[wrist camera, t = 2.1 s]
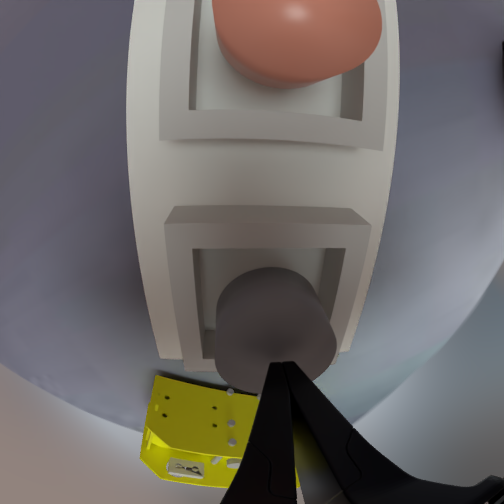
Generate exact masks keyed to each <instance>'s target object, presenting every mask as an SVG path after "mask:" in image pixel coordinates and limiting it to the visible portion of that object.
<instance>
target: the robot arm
mask: <svg viewBox="0 0 504 504" xmlns="http://www.w3.org/2000/svg"><path fill="white" fill-rule="evenodd" d="M295 467H296V471H297V475H298V479H299V482H300V486H301V490H302V494H303V498H304V502H305V504H504V478H501V477H497V476H493V475H490V476H488V477H487V478H485V479H483V480H482V481H480V482H479V483H477V484H476V485H474V486H471V487H460V486H454V485H447V484H441V483H436V482H431V481H426V480H421V479H418V478H415V477H413V476H411V475H409V474H408V473H406V472H404V471H403V470H402V469H401V468H399V467H398V466H397V465H395V464H394V463H393V462H391V461H390V460H389V459H388V458H386V457H385V456H384V455H382V454H381V453H380V452H379V451H378V450H376V449H375V448H374V447H373V446H372V445H370V444H369V443H368V442H367V441H366V440H365V439H364V438H363V437H362V436H361V435H360V434H359V432H358V431H357V430H356V429H355V428H353V426H352V425H351V424H350V423H349V422H348V421H347V420H346V419H345V417H344V416H343V415H342V414H341V413H340V412H339V411H338V410H337V409H336V408H335V406H334V405H333V404H332V403H331V402H330V401H329V400H328V399H327V398H326V397H325V395H324V394H323V393H322V392H321V391H320V390H319V389H318V388H317V386H316V385H315V384H314V383H313V382H312V381H311V380H310V379H309V377H308V376H307V375H306V374H305V373H304V372H303V371H302V369H301V368H300V367H299V366H298V365H297V364H296V362H294V361H283V362H282V363H281V362H270V363H269V367H268V371H267V374H266V378H265V382H264V386H263V389H262V393H261V397H260V400H259V404H258V408H257V411H256V415H255V418H254V422H253V425H252V429H251V432H250V436H249V439H248V443H247V445H246V449H245V452H244V455H243V458H242V460H241V463H240V466H239V468H238V470H237V472H236V474H235V476H234V478H233V480H232V482H231V484H230V486H229V488H228V490H227V492H226V494H225V496H224V497H223V499H222V501H221V503H220V504H297V500H296V499H297V493H296V473H295Z"/></svg>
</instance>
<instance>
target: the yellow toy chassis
mask: <svg viewBox="0 0 504 504" xmlns="http://www.w3.org/2000/svg"><path fill="white" fill-rule="evenodd" d="M260 397H261V394H258V396H250V395H244V394H238V393H234V390H233V389H230V388H229V389H228V390H227V391H222V390H217V389H212V388H207V387H202V386H198V385H193V384H189V383H185V382H181V381H177V380H173V379H169V378H165V377H162V376H158V375H155V380H154V385H153V390H152V395H151V401H150V402H149V404H148V410H147V415H146V421H145V427H144V433H143V439H142V445H141V452H140V459H141V461H142V462H143V463H145V464H146V466H147V467H148V468H149V469H150V470H152V471H153V472H154V473H155V474H156V475H157V476H158V477H159V478H160V479H163V480H168V481H174V482H181V483H187V484H193V485H202V486H210V487H221V488H229V486H230V484H231V482H232V480H233V478H234V476H235V474H236V472H237V470H238V468H239V466H240V463H241V460H242V458H243V455H244V452H245V449H246V445H247V443H248V439H249V436H250V432H251V429H252V425H253V422H254V418H255V415H256V411H257V408H258V404H259V400H260ZM212 407H216V408H212ZM168 462H169V467H168V471H167V469H166V465H167V463H168ZM179 465H180V466H179ZM176 466H178V467H176ZM184 467H187V468H186V470H185V468H184ZM295 473H296V488H298V487H300V482H299V479H298V475H297V471H296V467H295ZM170 474H173V475H178V476H184V477H180V478H179V477H174V476H172V475H170Z"/></svg>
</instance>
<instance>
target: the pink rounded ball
mask: <svg viewBox="0 0 504 504" xmlns="http://www.w3.org/2000/svg"><path fill="white" fill-rule="evenodd" d="M212 9H213V16H214V22H215V29H216V36H217V41H218V45H219V48H220V50H221V52H222V54H223V56H224V57H225V59H226V60H227V61H228V63H229V64H230V65H231V66H232V67H233V68H234V69H235V70H236V71H238V72H239V73H240V74H241V75H243V76H245V77H246V78H248V79H250V80H252V81H254V82H256V83H259V84H261V85H264V86H268V87H272V88H279V89H295V88H302V87H306V86H309V85H312V84H315V83H318V82H320V81H323V80H325V79H328V78H331V77H333V76H336V75H339V74H342V73H345V72H347V71H349V70H352V69H354V68H356V67H357V66H359V65H361V64H362V63H363V62H364V61H366V60H367V59H368V58H369V57H370V56H371V54H372V53H373V52H374V50H375V49H376V47H377V45H378V43H379V40H380V37H381V32H382V16H381V11H380V7H379V4H378V2H377V0H212Z"/></svg>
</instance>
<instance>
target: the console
mask: <svg viewBox="0 0 504 504" xmlns="http://www.w3.org/2000/svg"><path fill="white" fill-rule="evenodd" d="M377 2H378V4H379V7H380V11H381V16H382V32H381V37H380V40H379V43H378V45H377V47H376V49H375V50H374V52H373V53H372V54H371V56H370V57H369V58H368V59H367V60H366V61H364V62H363V63H362V64H361V65H359V66H357V67H356V68H354V69H352V70H349V71H347V72H345V73H342V74H339V75H336V76H333V77H331V78H328V79H325V80H323V81H320V82H318V83H315V84H312V85H309V86H306V87H302V88H295V89H279V88H272V87H268V86H264V85H261V84H259V83H256V82H254V81H252V80H250V79H248V78H246V77H245V76H243V75H241V74H240V73H239V72H238V71H236V70H235V69H234V68H233V67H232V66H231V65H230V64H229V63H228V61H227V60H226V59H225V57H224V56H223V54H222V52H221V50H220V48H219V45H218V41H217V36H216V29H215V22H214V16H213V9H212V0H135V2H134V9H133V16H132V24H131V33H130V43H129V55H128V71H127V101H126V123H127V155H128V172H129V185H130V196H131V206H132V215H133V223H134V231H135V239H136V246H137V252H138V258H139V265H140V270H141V276H142V281H143V287H144V292H145V297H146V302H147V306H148V311H149V316H150V320H151V324H152V329H153V333H154V337H155V341H156V345H157V349H158V352H159V356H160V358H162V359H183V362H184V367H185V371H192V372H218V371H217V369H216V366H215V327H216V306H217V301H218V299H219V296H220V294H221V293H222V291H223V290H224V288H225V287H226V286H227V285H228V284H229V283H230V282H231V281H232V280H234V279H235V278H236V277H238V276H240V275H241V274H243V273H246V272H248V271H251V270H254V269H258V268H263V267H280V268H286V269H289V270H292V271H295V272H297V273H299V274H300V275H302V276H303V277H305V278H306V279H307V280H308V281H309V282H310V283H311V285H312V286H313V288H314V290H315V292H316V294H317V296H318V298H319V301H320V303H321V305H322V307H323V309H324V311H325V314H326V316H327V318H328V320H329V322H330V325H331V327H332V329H333V331H334V334H335V336H336V340H337V350H336V354H335V356H334V359H333V361H332V362H331V364H330V365H333V364H335V363H336V360H337V357H338V354H339V352H347V351H349V349H350V346H351V343H352V340H353V337H354V334H355V331H356V328H357V325H358V322H359V319H360V315H361V312H362V309H363V306H364V302H365V299H366V295H367V292H368V288H369V285H370V281H371V277H372V273H373V269H374V265H375V261H376V257H377V253H378V248H379V244H380V239H381V235H382V230H383V225H384V220H385V215H386V209H387V204H388V198H389V192H390V185H391V179H392V171H393V164H394V156H395V146H396V136H397V124H398V109H399V82H400V58H399V32H398V18H397V7H396V0H377Z"/></svg>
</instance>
